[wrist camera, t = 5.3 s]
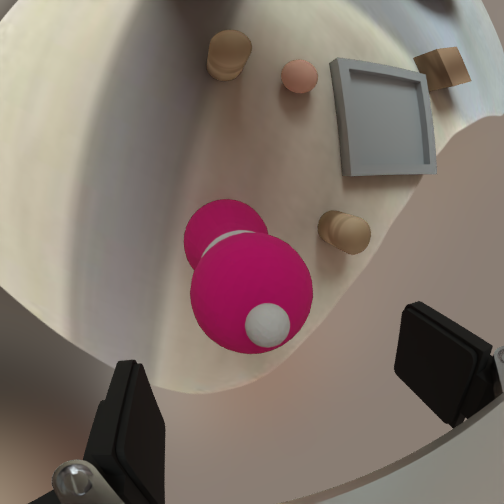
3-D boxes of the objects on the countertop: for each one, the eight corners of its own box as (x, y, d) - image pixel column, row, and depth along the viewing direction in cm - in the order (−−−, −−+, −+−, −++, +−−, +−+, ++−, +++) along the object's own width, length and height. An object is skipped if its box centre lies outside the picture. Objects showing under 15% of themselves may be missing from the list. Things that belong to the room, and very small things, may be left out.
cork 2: (316, 212, 31) (338, 219, 26) (346, 209, 32) (370, 215, 27) (318, 244, 32) (339, 257, 27) (347, 240, 33) (370, 251, 28)
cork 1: (205, 51, 25) (208, 30, 20) (240, 49, 25) (249, 29, 20) (207, 82, 26) (210, 65, 21) (243, 80, 26) (253, 63, 21)
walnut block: (412, 58, 28) (437, 49, 24) (433, 54, 29) (456, 46, 24) (427, 91, 30) (453, 86, 25) (447, 86, 30) (471, 81, 25)
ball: (275, 65, 26) (285, 53, 23) (307, 66, 27) (320, 56, 23) (278, 96, 27) (289, 87, 24) (311, 97, 28) (325, 89, 24)
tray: (329, 62, 27) (337, 57, 25) (415, 77, 29) (425, 74, 27) (342, 175, 31) (351, 176, 29) (426, 173, 33) (436, 174, 31)
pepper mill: (270, 219, 30) (389, 296, 11) (232, 278, 31) (291, 421, 12) (209, 181, 28) (243, 197, 9) (171, 244, 29) (141, 368, 10)
